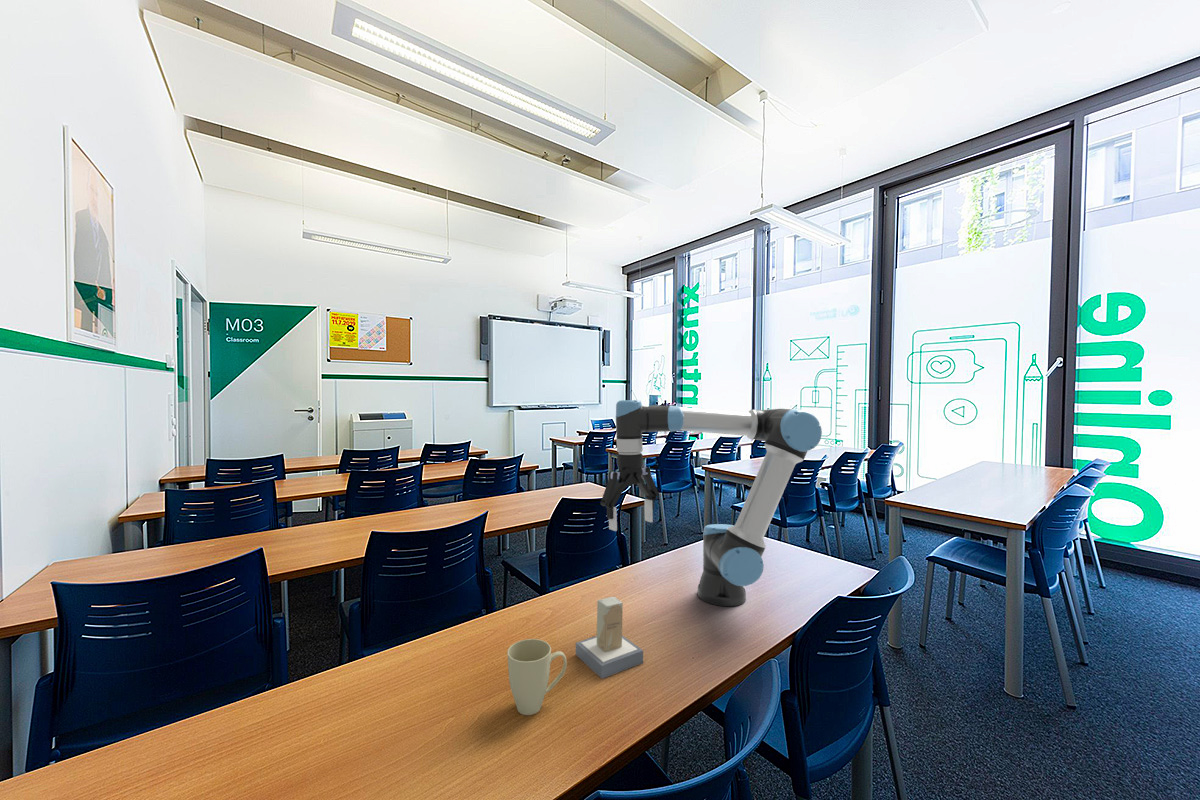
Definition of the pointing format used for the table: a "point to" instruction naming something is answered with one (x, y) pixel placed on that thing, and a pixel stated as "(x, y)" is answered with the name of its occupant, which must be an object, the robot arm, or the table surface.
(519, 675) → the mug
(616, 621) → the box
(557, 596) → the table surface
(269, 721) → the table surface
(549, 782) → the table surface
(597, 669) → the pedestal
